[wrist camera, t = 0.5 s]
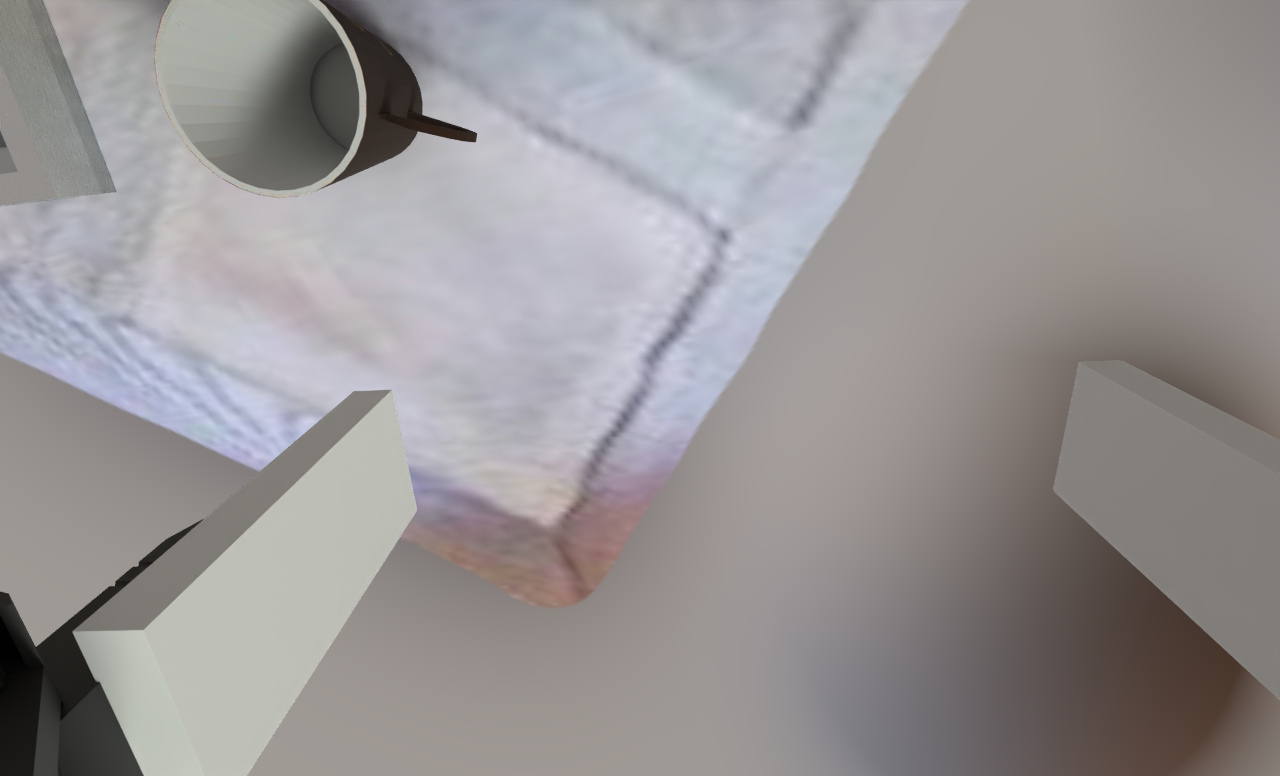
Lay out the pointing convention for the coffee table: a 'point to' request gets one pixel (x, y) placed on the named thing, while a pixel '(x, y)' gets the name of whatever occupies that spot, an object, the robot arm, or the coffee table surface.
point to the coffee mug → (286, 93)
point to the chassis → (42, 115)
